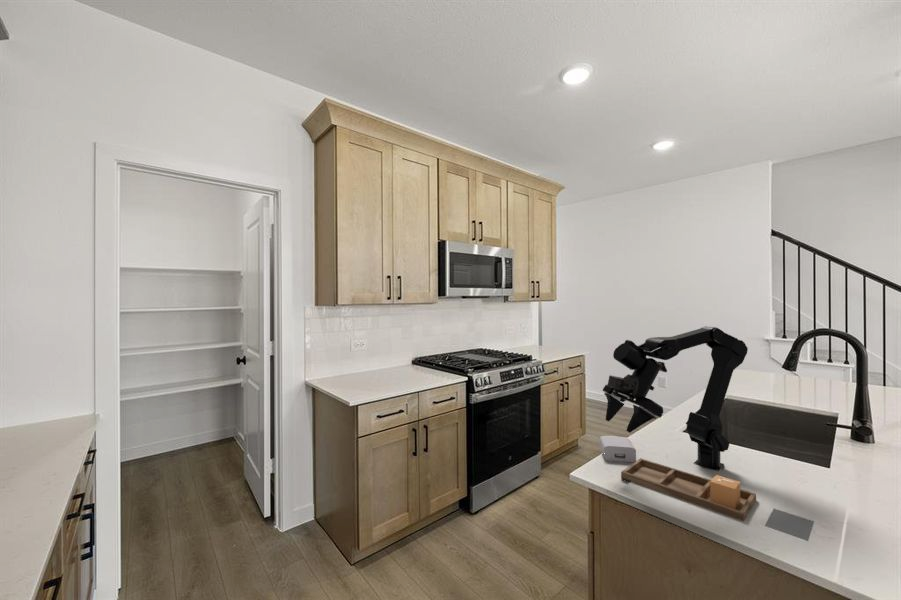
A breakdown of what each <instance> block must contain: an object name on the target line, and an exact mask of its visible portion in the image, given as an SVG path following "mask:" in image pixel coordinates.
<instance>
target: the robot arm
mask: <svg viewBox="0 0 901 600" xmlns="http://www.w3.org/2000/svg"><path fill="white" fill-rule="evenodd" d="M704 344H705V345H706V346H707V347H709V348H710V349H711V352H710V355H711V359H712V362H713V367H712V370H711V373H710V376H709V379H708V382H707V386H706V389H705V392H704V394H703V398H702V401H701V404H700V407H699V408H698V410H697V411H695V412H693V411H691V412H689V414H688V419H687V421H686V422H685V425H686V432H687V434H688V436H689V439H690V441H691V442H694V443H696V444H697V459H696V460H695V461H694V462H693V465H696V466H699V467H702V468H706V469H709V470H713V471H716V472H718V471H720V470H722V469H723V468H724V467H725V463H721V452H722V453H724V452H725V451H728V449H729V447H730V442H729V441H728V440H727V439H726V438H725V436H724V435H723V434H722V431H723V424H722V421H721V417H720V414H721V411H722V409H723V405H724V401H725V398H726V395H727V392H728V389H729V385H730V382H731V379H732V376H733V373H734V370H736V369H737V368H738V367H740V365H741V364H742V363H744V360H745V359H746V356H747V355H748V350H749V349H748V347H747V344H746V343H745V341H743V340H740V339H738V338H737V337H735V336H733V335H731V334H730V333H729V334H728V333H727V332H724V331H723V330H722V329H720V328H718V327H715V326H703V327H700V328H698V329H693V330H691V331H686V332H683V333H680V334H676V335H673V336H657V337H656V336H655V337H648V338H646V339H645V340H644V342H643V343H641V344H639V345H637V344H636V343H635V342H633V341H632V340H630V339H625V341H624V343H621V344H619V345H618V346H617V347H616V348H615V349H614V351H613V354H612V355H613V356H612V357H613V359H614V360H615V361H617V362H618V363H619V364H621V365H623V366H624V367H626V368H628V369H629V370H631V371H632V374H626V375H625V376H624V377H620V376H615V375H609V377H608V381H607V383H606V384H605V385H604V386H603V389H602V391H603V392H604V393H603V394H604V396H605V397H606V399H607V400H606V401H607V404H606V405H607V407H606V413H605V421H607V422H610V421H611V420H612V419H613V418H614V417H615V416H616V414H617V413H618V412H619V411H620V410H621V409H622V408H623V406H625V403H623V402H629V403H631V404H633V405H632V406H633V407H632V408H633V414H632V416H631V418H630V419H629V422H628V424H627V427H626V431H627V432H628V433H631V432H633V431H634V430H636V429H638V428H639V427H641V426H642V425H644V424H646V423H648V422H649V421H651V420H653V419H654V420H656V419H657V418H660V419H661V418H662V415H663V413H664V408H663V406H662V405H660V404H658V403H657V402H656V401H654V400H653V399H650V398H648V397H647V395H648V393H649V392H650V391H651V392H652V391H654V390H655V387H654V386H653V384H654V382H655V381H656V378H657V376H658V375H659V372H662V373H668V370H667V367H666V363H665V362H663V361H668V360H671V359H672V358H674V357H676V356H678V355H679V353H680V352H681V351H684V350H687V349H690V348H694V347H697V346H702V345H704ZM656 359H658V360H663V361H658V360H656Z"/></svg>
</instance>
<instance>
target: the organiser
mask: <svg viewBox="0 0 901 600" xmlns="http://www.w3.org/2000/svg"><path fill="white" fill-rule="evenodd" d="M620 473H621V474H620V477H621V479H622V480H621V479H620V480H621V481H624V480H625V481H624V482H627V481H628V483H629V482H630V483H632V482H633V483H635V484H638V485H640V486H644V487H647V488H648V489H649V488H650V489H653V490H655V491H657V492H660V493H663V494H667V495H669V496H672V497H675V498H678V499H680V500H683V501H685V502H689V503H691V504H694V505H697V506H699V507H702V508H705V509H709V510H711V511H714V512H717V513H719V514H722V515H725V516H728V517H731V518H733V519H736V520H739V521H742V522H744V521H745V519H746V518H747V516H748V514H749V513H750V511H751V510H752V508H753V506H754V505H755V503H756V501H757V493H755V492H751V491H748V490H745V489H741V488H740V503H739V505H738V506H737V508H736V509H732V508H729V507H726V506H723V505H721V504H718V503H715V502H712V501H710V481H711V480H712V479H708V478H706V477H702V476H699V475H695V474H693V473H690V472H686V471H684V470H680V469H677V468H674V467H670V466H666V465H663V464H660V463H657V462H654V461H651V460H647V459H645V458H639V459H636V461H635V462H632V463H631V464H630V465H629V466H628V467H625V468H624V469H623V470H621V472H620Z"/></svg>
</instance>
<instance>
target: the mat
mask: <svg viewBox="0 0 901 600" xmlns="http://www.w3.org/2000/svg"><path fill="white" fill-rule="evenodd" d="M814 522H815V521H814V520H811V519H808V518H805V517H802V516H798V515H796V514H792V513H789V512H786V511H784V510H780V509H776V508H773V509H772V511H771V513H770V515H769V516H768V519H767V520H766V523H765V524H764V527H766V528H767V527H768V528H771V529H773V530H777V531H779V532H781V533H784V534H787V535H790V536H792V537H796V538H799V539H802V540H804V541H806V542H808V541H809V539H810V535H811V533H812V532H811V531H812V529H813V527H814V526H813V525H814Z"/></svg>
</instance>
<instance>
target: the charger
mask: <svg viewBox="0 0 901 600" xmlns="http://www.w3.org/2000/svg"><path fill="white" fill-rule="evenodd" d="M599 448H600V452H601V453H602V456H603V458H604V460H605V461H614V462H624V461H626V462H627V463H628V462H629V463H635V462H636V461H637V450H636V449H637V448H636V447H635V446H634V445H633V443H632V441H631V440H630V438H629V437H626V436H616V435H602V436H600V437H599ZM604 453H605V454H604ZM603 454H604V455H603Z"/></svg>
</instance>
